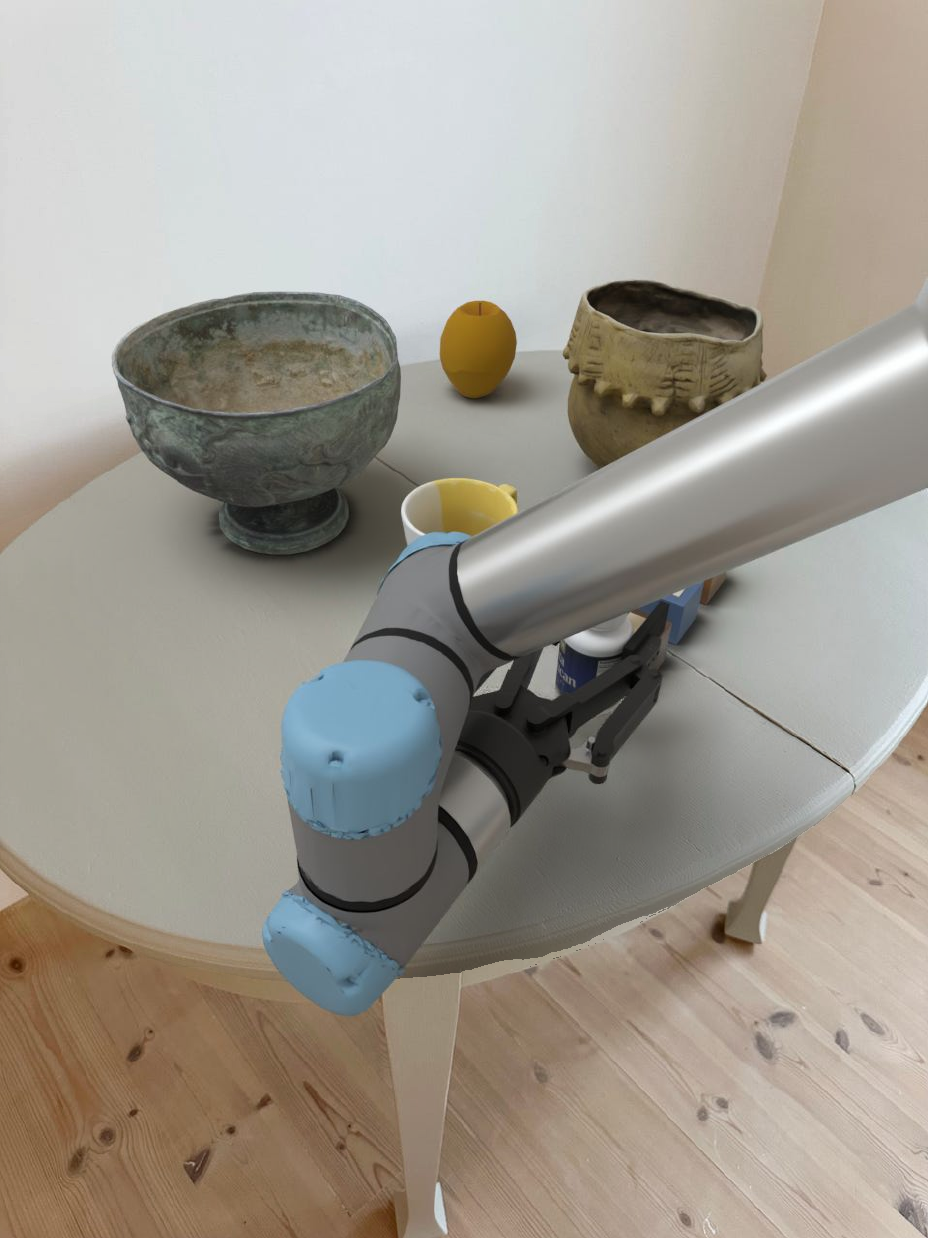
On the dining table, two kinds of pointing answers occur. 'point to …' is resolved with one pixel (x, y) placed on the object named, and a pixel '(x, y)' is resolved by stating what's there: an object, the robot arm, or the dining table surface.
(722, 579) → the oak end block
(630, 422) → the clay pot
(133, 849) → the dining table surface
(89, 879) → the dining table surface
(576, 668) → the pill bottle
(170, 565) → the dining table surface
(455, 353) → the apple
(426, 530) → the mug
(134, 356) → the decorative bowl
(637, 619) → the walnut block
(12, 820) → the dining table surface
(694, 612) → the blue painted block
